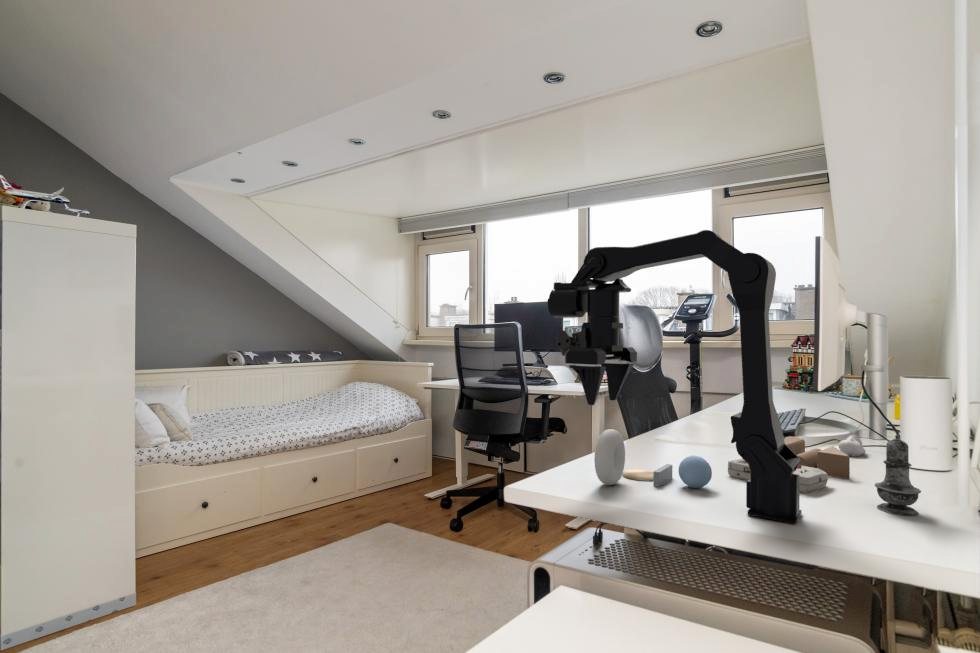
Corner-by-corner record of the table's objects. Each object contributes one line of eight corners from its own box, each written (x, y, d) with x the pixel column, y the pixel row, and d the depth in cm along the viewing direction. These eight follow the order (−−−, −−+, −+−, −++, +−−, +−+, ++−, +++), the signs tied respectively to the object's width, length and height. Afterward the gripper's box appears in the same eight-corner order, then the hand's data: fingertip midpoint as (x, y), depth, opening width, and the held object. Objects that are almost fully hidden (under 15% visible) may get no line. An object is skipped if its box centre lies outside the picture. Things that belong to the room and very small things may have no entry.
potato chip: (665, 475, 105) (665, 473, 105) (652, 483, 100) (652, 481, 100) (630, 469, 109) (630, 468, 109) (616, 476, 104) (616, 475, 104)
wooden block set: (756, 439, 117) (787, 430, 129) (756, 466, 116) (787, 454, 129) (847, 452, 104) (873, 441, 116) (847, 482, 104) (873, 467, 116)
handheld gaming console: (808, 475, 94) (726, 459, 106) (808, 496, 94) (726, 477, 106) (831, 468, 99) (751, 453, 111) (831, 488, 99) (751, 471, 111)
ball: (715, 486, 98) (715, 455, 98) (706, 493, 93) (707, 461, 93) (683, 481, 101) (684, 451, 101) (674, 488, 96) (674, 456, 97)
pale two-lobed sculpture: (857, 463, 124) (833, 453, 128) (867, 457, 129) (843, 447, 133) (864, 446, 123) (839, 436, 127) (873, 441, 128) (849, 431, 132)
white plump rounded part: (609, 477, 103) (610, 424, 103) (627, 480, 102) (628, 426, 102) (591, 489, 95) (591, 432, 95) (610, 492, 93) (610, 434, 93)
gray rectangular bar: (672, 477, 103) (672, 464, 103) (658, 486, 97) (659, 472, 97) (667, 477, 104) (667, 464, 104) (653, 485, 98) (653, 471, 98)
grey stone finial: (908, 506, 88) (908, 431, 88) (929, 518, 82) (929, 438, 82) (867, 503, 89) (867, 429, 89) (885, 514, 83) (885, 436, 83)
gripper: (586, 319, 112) (585, 395, 112) (539, 315, 97) (537, 403, 97) (638, 319, 105) (637, 399, 105) (596, 315, 90) (595, 409, 90)
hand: (602, 402), depth 99 cm, fingers open, 9 cm apart
